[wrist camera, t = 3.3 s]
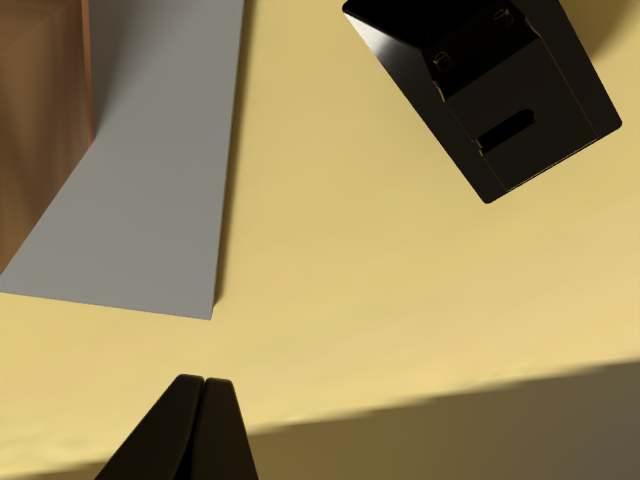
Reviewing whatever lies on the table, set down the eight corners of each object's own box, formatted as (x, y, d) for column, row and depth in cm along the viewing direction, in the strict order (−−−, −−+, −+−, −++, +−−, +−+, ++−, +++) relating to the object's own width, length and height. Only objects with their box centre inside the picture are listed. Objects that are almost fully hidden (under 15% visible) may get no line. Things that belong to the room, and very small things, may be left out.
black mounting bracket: (287, -24, 19) (278, 18, 15) (498, -202, 16) (550, -205, 12) (484, 236, 24) (512, 313, 21) (663, 135, 22) (733, 202, 18)
